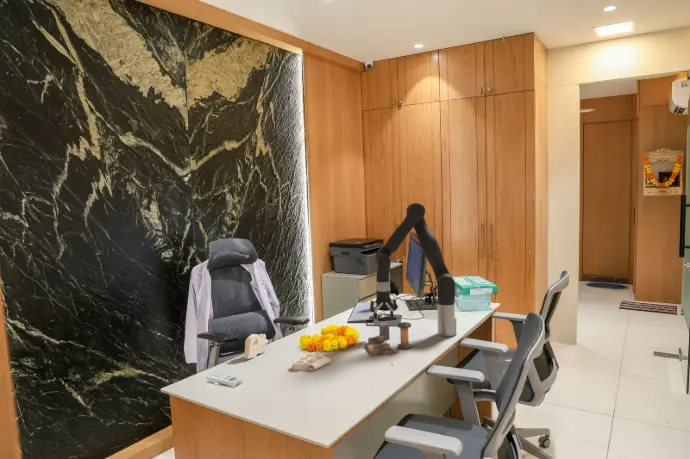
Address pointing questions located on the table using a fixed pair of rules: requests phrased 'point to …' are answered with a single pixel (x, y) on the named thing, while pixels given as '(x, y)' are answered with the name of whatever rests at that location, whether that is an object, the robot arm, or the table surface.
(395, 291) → the sculpture
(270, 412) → the table surface
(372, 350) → the terminal board
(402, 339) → the bobbin
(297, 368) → the beige block with wells
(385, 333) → the grey brown rectangular block
